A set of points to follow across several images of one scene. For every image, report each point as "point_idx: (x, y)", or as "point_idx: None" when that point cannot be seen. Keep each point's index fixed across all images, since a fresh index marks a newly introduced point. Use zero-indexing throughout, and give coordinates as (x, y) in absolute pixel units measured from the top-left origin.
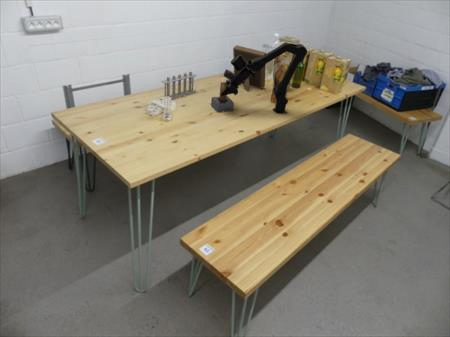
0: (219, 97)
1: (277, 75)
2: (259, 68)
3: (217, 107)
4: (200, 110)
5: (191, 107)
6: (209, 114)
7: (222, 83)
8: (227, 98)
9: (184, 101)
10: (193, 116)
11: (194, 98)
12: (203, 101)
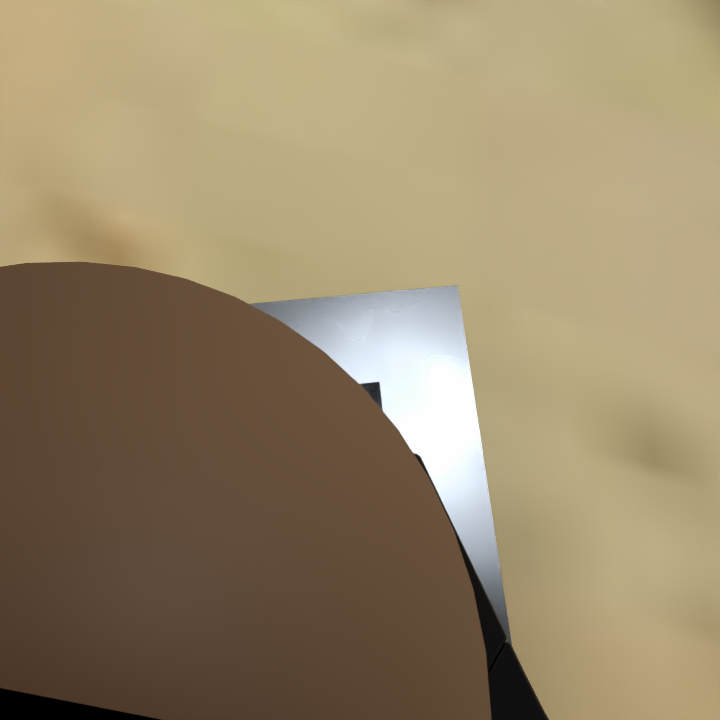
0: (435, 457)
1: None
2: None
3: None
4: (250, 136)
5: (364, 48)
6: (93, 224)
7: (19, 465)
8: None
9: (569, 7)
10: (74, 12)
11: (683, 152)
12: (573, 252)
